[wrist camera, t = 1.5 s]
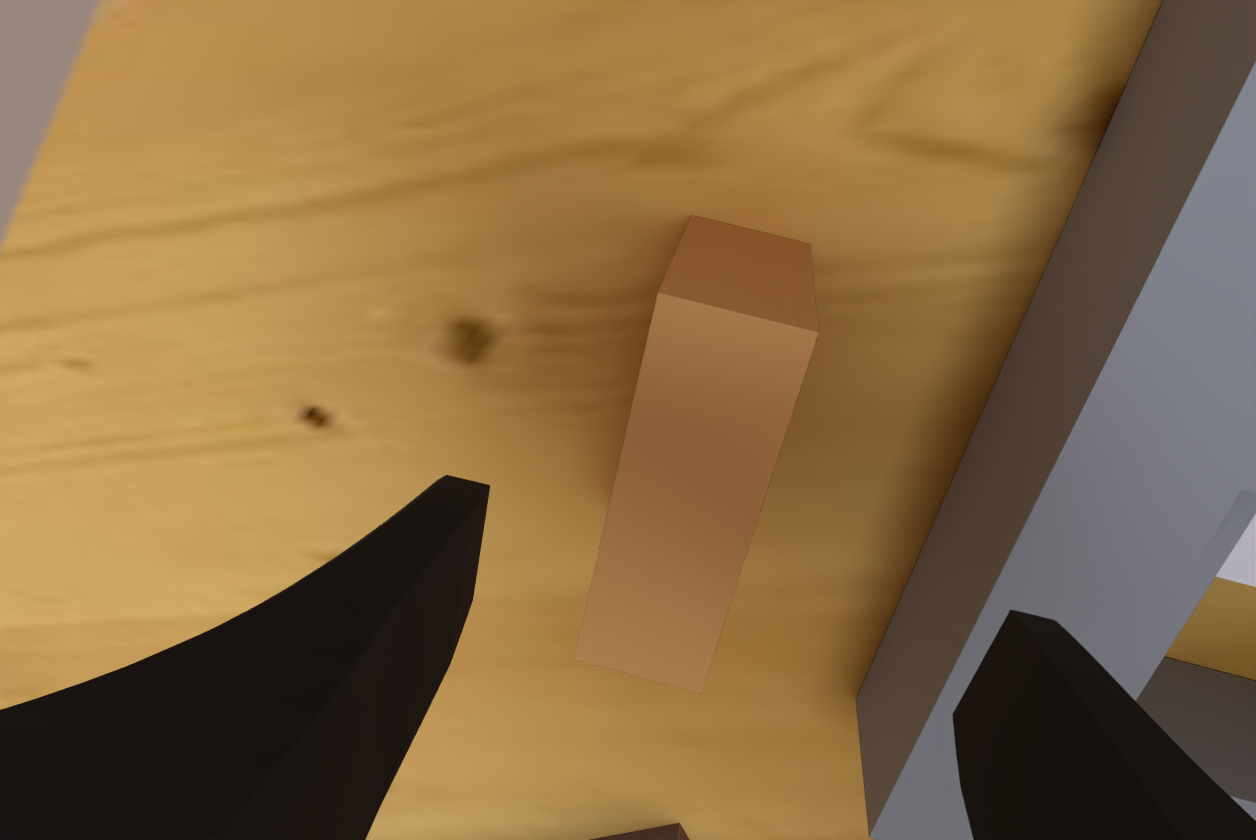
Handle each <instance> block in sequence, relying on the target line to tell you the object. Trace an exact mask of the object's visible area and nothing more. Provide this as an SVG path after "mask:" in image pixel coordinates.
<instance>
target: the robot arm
mask: <svg viewBox="0 0 1256 840" xmlns="http://www.w3.org/2000/svg"><path fill="white" fill-rule="evenodd" d="M489 490H490V485H487V484H482V483H478V482H474V481H470V480H466V479H461V478H457V477H453V476H449V475H446V476H444V477H442V478H440V479H439V480H437V481H436V482H435V483H433V484H432V485H431V486H430V487H428V488H427V489H426V490H425V491H424V492H422V493H421V494H420V495H419V496H417V497H416V498H415V499H414V500H412V501H411V502H410V503H409V504H407V505H406V506H405V507H404V508H402V509H401V510H400V511H399V512H397V513H396V514H395V515H393V516H392V517H391V518H389V519H388V520H387V521H386V522H384V523H383V524H382V525H380V526H379V527H377V528H376V529H375V530H373V531H372V532H371V533H369V534H368V535H366V536H365V537H364V538H362V539H361V540H359V541H358V542H357V543H355V544H354V545H352V546H351V547H350V548H348V549H347V550H345V551H344V552H343V553H341V554H340V555H338V556H337V557H335V558H334V559H332V560H331V561H329V562H327V563H326V564H324V565H323V566H321V567H320V568H318V569H316V570H315V571H313V572H312V573H310V574H309V575H307V576H305V577H304V578H302V579H301V580H299V581H298V582H296V583H294V584H293V585H291V586H290V587H288V588H286V589H285V590H283V591H281V592H280V593H278V594H276V595H274V596H273V597H271V598H269V599H268V600H266V601H264V602H262V603H260V604H259V605H257V606H255V607H253V608H251V609H250V610H248V611H246V612H244V613H242V614H240V615H238V616H236V617H234V618H232V619H230V620H229V621H227V622H225V623H223V624H221V625H219V626H217V627H215V628H213V629H211V630H209V631H206V632H204V633H202V634H200V635H198V636H196V637H193V638H191V639H189V640H186V641H184V642H182V643H180V644H177V645H175V646H173V647H170V648H168V649H166V650H163V651H161V652H159V653H157V654H154V655H152V656H150V657H147V658H145V659H143V660H140V661H138V662H136V663H133V664H131V665H128V666H126V667H123V668H121V669H118V670H115V671H113V672H110V673H107V674H105V675H102V676H99V677H97V678H94V679H91V680H89V681H86V682H83V683H80V684H78V685H75V686H72V687H69V688H66V689H63V690H60V691H57V692H54V693H51V694H48V695H45V696H42V697H40V698H37V699H33V700H30V701H27V702H24V703H21V704H18V705H15V706H11V707H8V708H5V709H2V710H0V840H365V839H366V837H367V835H368V833H369V830H370V828H371V826H372V824H373V821H374V819H375V817H376V815H377V812H378V810H379V808H380V806H381V804H382V802H383V800H384V798H385V796H386V794H387V792H388V789H389V787H390V785H391V783H392V781H393V779H394V777H395V775H396V773H397V771H398V769H399V767H400V765H401V763H402V761H403V759H404V757H405V755H406V753H407V751H408V749H409V747H410V745H411V743H412V741H413V739H414V737H415V735H416V733H417V731H418V729H419V727H420V725H421V723H422V721H423V719H424V717H425V715H426V713H427V711H428V709H429V707H430V705H431V703H432V700H433V698H434V696H435V694H436V692H437V690H438V688H439V686H440V684H441V682H442V680H443V678H444V676H445V674H446V672H447V670H448V668H449V666H450V663H451V660H452V658H453V655H454V652H455V649H456V647H457V644H458V641H459V638H460V636H461V633H462V630H463V627H464V624H465V621H466V618H467V615H468V613H469V610H470V607H471V604H472V601H473V596H474V589H475V583H476V576H477V570H478V563H479V556H480V550H481V543H482V537H483V530H484V523H485V517H486V510H487V503H488V497H489ZM952 716H953V727H954V737H955V748H956V757H957V765H958V772H959V780H960V787H961V791H962V795H963V800H964V804H965V808H966V812H967V816H968V820H969V824H970V828H971V832H972V836H973V840H1256V821H1255V820H1254V819H1253V818H1252V817H1251V816H1250V815H1249V814H1248V813H1247V812H1246V811H1245V810H1244V809H1243V808H1242V807H1241V806H1240V805H1239V804H1238V803H1237V802H1235V801H1234V800H1233V799H1232V798H1231V797H1230V796H1229V795H1228V794H1227V793H1226V792H1225V791H1224V790H1223V789H1222V788H1221V787H1220V786H1219V785H1218V784H1217V783H1215V782H1214V781H1213V780H1212V779H1211V778H1210V777H1209V776H1208V775H1207V774H1206V773H1205V772H1204V771H1203V770H1202V769H1201V768H1200V767H1199V766H1198V765H1197V764H1196V763H1195V762H1194V761H1193V760H1192V759H1191V758H1190V757H1189V756H1188V755H1187V754H1186V753H1185V752H1184V751H1183V750H1182V749H1181V748H1180V747H1179V746H1178V745H1177V744H1176V743H1175V742H1174V741H1173V740H1172V739H1171V737H1170V736H1169V735H1168V734H1167V733H1166V732H1165V731H1164V730H1163V729H1162V728H1161V727H1160V726H1159V725H1158V724H1157V723H1156V722H1155V721H1154V720H1153V719H1152V718H1151V717H1150V716H1149V715H1148V714H1147V713H1146V712H1145V711H1144V709H1143V708H1142V707H1141V706H1140V705H1139V704H1138V703H1137V702H1136V701H1135V700H1134V699H1133V698H1132V697H1131V696H1130V695H1129V694H1128V693H1127V692H1126V691H1125V690H1124V688H1123V687H1122V686H1121V685H1120V684H1119V683H1118V682H1117V681H1116V680H1115V679H1114V678H1113V677H1112V676H1111V675H1110V674H1109V673H1108V672H1107V671H1106V670H1105V669H1104V668H1103V666H1102V665H1101V664H1100V663H1099V662H1098V661H1097V660H1096V659H1095V658H1094V657H1093V656H1092V655H1091V654H1090V653H1089V652H1088V651H1087V650H1086V649H1085V648H1084V647H1083V646H1082V645H1081V644H1080V643H1079V642H1078V641H1077V640H1076V639H1075V638H1074V637H1073V636H1072V635H1071V634H1070V633H1069V632H1068V631H1067V630H1066V629H1064V628H1063V627H1062V626H1061V625H1060V624H1059V623H1058V622H1057V621H1056V620H1053V619H1049V618H1045V617H1041V616H1037V615H1032V614H1028V613H1024V612H1020V611H1016V610H1011V609H1010V611H1009V613H1008V615H1007V617H1006V618H1005V620H1004V622H1003V624H1002V626H1001V627H1000V629H999V631H998V633H997V635H996V636H995V638H994V640H993V642H992V644H991V645H990V647H989V649H988V651H987V653H986V655H985V656H984V658H983V660H982V662H981V664H980V665H979V667H978V669H977V671H976V673H975V674H974V676H973V678H972V680H971V682H970V683H969V685H968V687H967V689H966V691H965V692H964V694H963V696H962V698H961V700H960V701H959V703H958V705H957V707H956V709H955V710H954V712H953V714H952Z"/></svg>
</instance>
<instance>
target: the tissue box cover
mask: <svg viewBox="0 0 1256 840" xmlns="http://www.w3.org/2000/svg"><path fill="white" fill-rule="evenodd" d="M591 840H689V838H688V837H687V835H686V833H685V831H684V830H683V828H682V826H681V824H680V823H677V824H672V825H666V826H661V827H655V828H650V829H645V830H639V831H634V832H628V833H623V834H618V835H612V836H607V837H601V838H596V839H591Z"/></svg>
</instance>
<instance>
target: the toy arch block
mask: <svg viewBox="0 0 1256 840" xmlns="http://www.w3.org/2000/svg"><path fill="white" fill-rule="evenodd" d="M818 333H819V332H818V321H817V311H816V300H815V289H814V279H813V268H812V258H811V247H810V244H808V243H803V242H799V241H795V240H791V239H787V238H783V237H779V236H775V235H771V234H767V233H762V232H758V231H754V230H750V229H746V228H742V227H738V226H734V225H730V224H726V223H721V222H717V221H713V220H709V219H705V218H701V217H697V216H693V215H692V216H691V218H690V220H689V223H688V225H687V227H686V229H685V232H684V234H683V236H682V239H681V241H680V243H679V245H678V248H677V250H676V252H675V254H674V257H673V259H672V261H671V263H670V266H669V268H668V270H667V273H666V275H665V277H664V279H663V282H662V284H661V286H660V288H659V291H658V293H657V298H656V302H655V307H654V311H653V315H652V320H651V324H650V328H649V333H648V337H647V342H646V346H645V350H644V355H643V359H642V363H641V368H640V372H639V377H638V381H637V385H636V390H635V394H634V398H633V403H632V407H631V412H630V416H629V420H628V425H627V429H626V433H625V438H624V442H623V447H622V451H621V455H620V460H619V464H618V468H617V473H616V477H615V482H614V486H613V490H612V495H611V499H610V503H609V508H608V512H607V517H606V521H605V525H604V530H603V534H602V538H601V543H600V547H599V552H598V556H597V560H596V565H595V569H594V573H593V578H592V582H591V587H590V591H589V595H588V600H587V604H586V608H585V613H584V617H583V622H582V626H581V630H580V635H579V639H578V643H577V648H576V652H575V657H574V659H576V660H580V661H583V662H587V663H591V664H594V665H598V666H601V667H605V668H609V669H612V670H616V671H620V672H623V673H627V674H631V675H634V676H638V677H641V678H645V679H649V680H652V681H656V682H660V683H663V684H667V685H671V686H674V687H678V688H681V689H685V690H689V691H692V692H696V693H700V694H701V692H702V689H703V686H704V683H705V680H706V677H707V674H708V671H709V667H710V664H711V661H712V658H713V655H714V652H715V649H716V646H717V643H718V640H719V637H720V634H721V631H722V628H723V625H724V621H725V618H726V615H727V612H728V609H729V606H730V603H731V600H732V597H733V594H734V591H735V588H736V585H737V582H738V578H739V575H740V572H741V569H742V566H743V563H744V560H745V557H746V554H747V551H748V548H749V545H750V542H751V539H752V535H753V532H754V529H755V526H756V523H757V520H758V517H759V514H760V511H761V508H762V505H763V502H764V499H765V496H766V493H767V489H768V486H769V483H770V480H771V477H772V474H773V471H774V468H775V465H776V462H777V459H778V456H779V453H780V450H781V446H782V443H783V440H784V437H785V434H786V431H787V428H788V425H789V422H790V419H791V416H792V413H793V410H794V407H795V403H796V400H797V397H798V394H799V391H800V388H801V385H802V382H803V379H804V376H805V373H806V370H807V367H808V364H809V361H810V357H811V354H812V351H813V348H814V345H815V342H816V339H817V336H818Z"/></svg>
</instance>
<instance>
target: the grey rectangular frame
mask: <svg viewBox="0 0 1256 840" xmlns="http://www.w3.org/2000/svg"><path fill="white" fill-rule="evenodd" d="M1215 577H1219V578H1223V579H1227V580H1231V581H1235V582H1238V583H1242V584H1246V585H1250V586H1254V587H1256V0H1163V2H1162V5H1161V7H1160V9H1159V11H1158V14H1157V16H1156V18H1155V21H1154V23H1153V25H1152V27H1151V30H1150V32H1149V34H1148V37H1147V39H1146V41H1145V43H1144V46H1143V48H1142V50H1141V52H1140V55H1139V57H1138V59H1137V62H1136V64H1135V66H1134V68H1133V71H1132V73H1131V75H1130V77H1129V80H1128V82H1127V84H1126V87H1125V89H1124V91H1123V93H1122V96H1121V98H1120V100H1119V103H1118V105H1117V107H1116V109H1115V112H1114V114H1113V116H1112V118H1111V121H1110V123H1109V125H1108V128H1107V130H1106V132H1105V134H1104V137H1103V139H1102V141H1101V143H1100V146H1099V148H1098V150H1097V153H1096V155H1095V157H1094V159H1093V162H1092V164H1091V166H1090V169H1089V171H1088V173H1087V175H1086V178H1085V180H1084V182H1083V184H1082V187H1081V189H1080V191H1079V194H1078V196H1077V198H1076V200H1075V203H1074V205H1073V207H1072V209H1071V212H1070V214H1069V216H1068V219H1067V221H1066V223H1065V225H1064V228H1063V230H1062V232H1061V235H1060V237H1059V239H1058V241H1057V244H1056V246H1055V248H1054V250H1053V253H1052V255H1051V257H1050V260H1049V262H1048V264H1047V266H1046V269H1045V271H1044V273H1043V275H1042V278H1041V280H1040V282H1039V285H1038V287H1037V289H1036V291H1035V294H1034V296H1033V298H1032V301H1031V303H1030V305H1029V307H1028V310H1027V312H1026V314H1025V316H1024V319H1023V321H1022V323H1021V326H1020V328H1019V330H1018V332H1017V335H1016V337H1015V339H1014V341H1013V344H1012V346H1011V348H1010V351H1009V353H1008V355H1007V357H1006V360H1005V362H1004V364H1003V367H1002V369H1001V371H1000V373H999V376H998V378H997V380H996V382H995V385H994V387H993V389H992V392H991V394H990V396H989V398H988V401H987V403H986V405H985V407H984V410H983V412H982V414H981V417H980V419H979V421H978V423H977V426H976V428H975V430H974V433H973V435H972V437H971V439H970V442H969V444H968V446H967V448H966V451H965V453H964V455H963V458H962V460H961V462H960V464H959V467H958V469H957V471H956V473H955V476H954V478H953V480H952V483H951V485H950V487H949V489H948V492H947V494H946V496H945V499H944V501H943V503H942V505H941V508H940V510H939V512H938V514H937V517H936V519H935V521H934V524H933V526H932V528H931V530H930V533H929V535H928V537H927V539H926V542H925V544H924V546H923V549H922V551H921V553H920V555H919V558H918V560H917V562H916V565H915V567H914V569H913V571H912V574H911V576H910V578H909V580H908V583H907V585H906V587H905V590H904V592H903V594H902V596H901V599H900V601H899V603H898V605H897V608H896V610H895V612H894V615H893V617H892V619H891V621H890V624H889V626H888V628H887V631H886V633H885V635H884V637H883V640H882V642H881V644H880V646H879V649H878V651H877V653H876V656H875V658H874V660H873V662H872V665H871V667H870V669H869V671H868V674H867V676H866V678H865V681H864V683H863V685H862V687H861V690H860V692H859V694H858V697H857V699H856V709H857V719H858V729H859V740H860V750H861V760H862V770H863V781H864V791H865V801H866V811H867V821H868V832H869V837H870V838H873V839H877V840H973V836H972V832H971V828H970V824H969V820H968V816H967V812H966V808H965V804H964V800H963V795H962V791H961V787H960V780H959V772H958V765H957V757H956V748H955V737H954V727H953V716H952V714H953V712H954V710H955V709H956V707H957V705H958V703H959V701H960V700H961V698H962V696H963V694H964V692H965V691H966V689H967V687H968V685H969V683H970V682H971V680H972V678H973V676H974V674H975V673H976V671H977V669H978V667H979V665H980V664H981V662H982V660H983V658H984V656H985V655H986V653H987V651H988V649H989V647H990V645H991V644H992V642H993V640H994V638H995V636H996V635H997V633H998V631H999V629H1000V627H1001V626H1002V624H1003V622H1004V620H1005V618H1006V617H1007V615H1008V613H1009V611H1010V609H1011V610H1016V611H1020V612H1024V613H1028V614H1032V615H1037V616H1041V617H1045V618H1049V619H1053V620H1056V621H1057V622H1058V623H1059V624H1060V625H1061V626H1062V627H1063V628H1064V629H1066V630H1067V631H1068V632H1069V633H1070V634H1071V635H1072V636H1073V637H1074V638H1075V639H1076V640H1077V641H1078V642H1079V643H1080V644H1081V645H1082V646H1083V647H1084V648H1085V649H1086V650H1087V651H1088V652H1089V653H1090V654H1091V655H1092V656H1093V657H1094V658H1095V659H1096V660H1097V661H1098V662H1099V663H1100V664H1101V665H1102V666H1103V668H1104V669H1105V670H1106V671H1107V672H1108V673H1109V674H1110V675H1111V676H1112V677H1113V678H1114V679H1115V680H1116V681H1117V682H1118V683H1119V684H1120V685H1121V686H1122V687H1123V688H1124V690H1125V691H1126V692H1127V693H1128V694H1129V695H1130V696H1131V697H1132V698H1133V699H1134V700H1135V701H1136V702H1137V703H1138V704H1139V705H1140V706H1141V707H1142V708H1143V709H1144V711H1145V712H1146V713H1147V714H1148V715H1149V716H1150V717H1151V718H1152V719H1153V720H1154V721H1155V722H1156V723H1157V724H1158V725H1159V726H1160V727H1161V728H1162V729H1163V730H1164V731H1165V732H1166V733H1167V734H1168V735H1169V736H1170V737H1171V739H1172V740H1173V741H1174V742H1175V743H1176V744H1177V745H1178V746H1179V747H1180V748H1181V749H1182V750H1183V751H1184V752H1185V753H1186V754H1187V755H1188V756H1189V757H1190V758H1191V759H1192V760H1193V761H1194V762H1195V763H1196V764H1197V765H1198V766H1199V767H1200V768H1201V769H1202V770H1203V771H1204V772H1205V773H1206V774H1207V775H1208V776H1209V777H1210V778H1211V779H1212V780H1213V781H1214V782H1215V783H1217V784H1218V785H1219V786H1220V787H1221V788H1222V789H1223V790H1224V791H1225V792H1226V793H1227V794H1228V795H1229V796H1230V797H1231V798H1232V799H1233V800H1234V801H1235V802H1237V803H1238V804H1239V805H1240V806H1241V807H1242V808H1243V809H1244V810H1245V811H1246V812H1247V813H1248V814H1249V815H1250V816H1251V817H1252V818H1253V819H1254V820H1255V821H1256V681H1253V680H1249V679H1245V678H1242V677H1238V676H1234V675H1230V674H1226V673H1223V672H1219V671H1215V670H1211V669H1208V668H1204V667H1200V666H1196V665H1193V664H1189V663H1185V662H1181V661H1177V660H1174V659H1170V658H1166V657H1164V656H1165V654H1166V653H1167V651H1168V650H1169V648H1170V647H1171V645H1172V643H1173V642H1174V640H1175V639H1176V637H1177V636H1178V634H1179V633H1180V631H1181V629H1182V628H1183V626H1184V625H1185V623H1186V622H1187V620H1188V619H1189V617H1190V615H1191V614H1192V612H1193V611H1194V609H1195V608H1196V606H1197V605H1198V603H1199V601H1200V600H1201V598H1202V597H1203V595H1204V594H1205V592H1206V591H1207V589H1208V587H1209V586H1210V584H1211V583H1212V581H1213V580H1214V578H1215Z"/></svg>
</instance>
